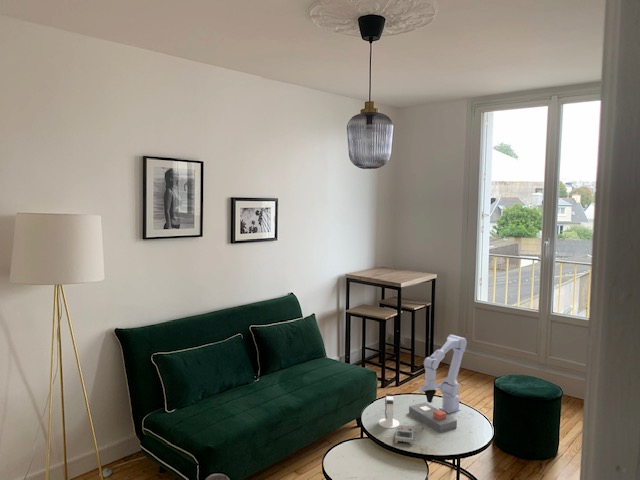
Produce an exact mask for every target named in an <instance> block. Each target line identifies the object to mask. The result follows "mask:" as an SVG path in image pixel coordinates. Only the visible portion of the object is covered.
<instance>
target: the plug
mask: <svg viewBox="0 0 640 480" xmlns="http://www.w3.org/2000/svg"><path fill="white" fill-rule="evenodd" d="M419 409H421V410H423V411H424V412H426V411H430V410H431V409H430V408H428V407H427V406H424V407H420V408H419Z"/></svg>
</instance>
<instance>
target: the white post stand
mask: <svg viewBox="0 0 640 480" xmlns="http://www.w3.org/2000/svg"><path fill="white" fill-rule="evenodd" d="M384 401H385V403H384V406H385V410H384V415H385V417H383V418H381V419H379V420H378V424H379V425H380V426H381V427H382V428H386V429H397V427H398V426H400V422H399V420H397V419H395V418H394V396H393V393H386V394H385V399H384Z"/></svg>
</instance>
